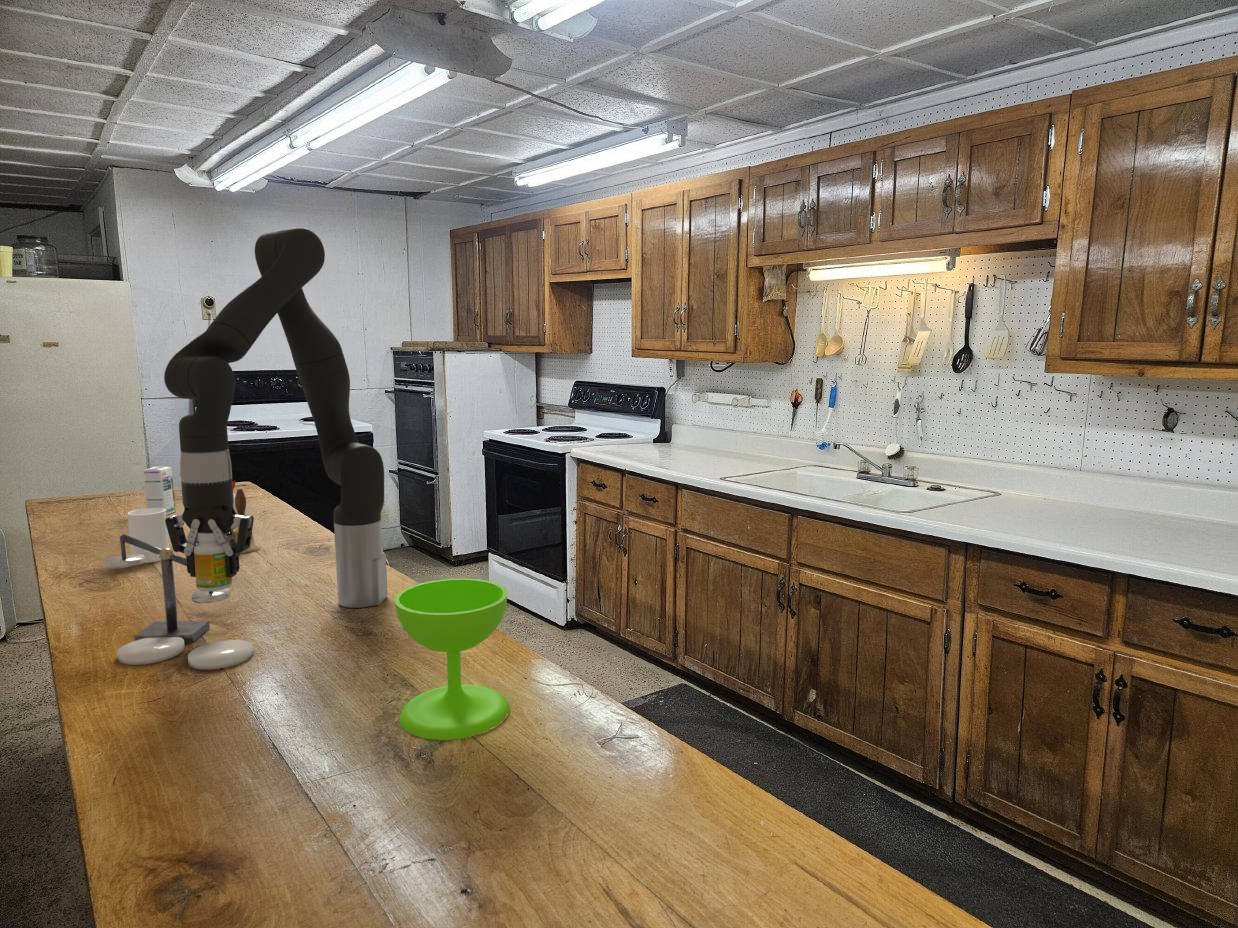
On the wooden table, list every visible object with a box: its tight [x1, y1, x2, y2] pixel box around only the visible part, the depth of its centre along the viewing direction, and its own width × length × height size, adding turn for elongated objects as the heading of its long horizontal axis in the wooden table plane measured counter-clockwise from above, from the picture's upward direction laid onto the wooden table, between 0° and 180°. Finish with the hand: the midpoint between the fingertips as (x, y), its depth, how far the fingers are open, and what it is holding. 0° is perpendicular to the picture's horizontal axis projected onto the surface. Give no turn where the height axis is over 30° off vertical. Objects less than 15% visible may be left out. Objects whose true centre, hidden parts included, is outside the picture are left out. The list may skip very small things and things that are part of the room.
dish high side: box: [117, 636, 186, 666], centre depth 136 cm, size 10×10×1 cm
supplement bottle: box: [194, 533, 233, 591], centre depth 131 cm, size 5×5×10 cm
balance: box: [102, 533, 232, 644], centre depth 142 cm, size 21×7×19 cm, turn 95°
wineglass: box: [393, 577, 511, 741], centre depth 113 cm, size 16×16×18 cm
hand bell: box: [233, 488, 262, 555], centre depth 200 cm, size 8×8×16 cm
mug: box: [127, 507, 170, 564], centre depth 194 cm, size 12×8×12 cm
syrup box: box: [142, 465, 177, 516], centre depth 240 cm, size 6×6×14 cm
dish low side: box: [187, 639, 254, 671], centre depth 134 cm, size 10×10×1 cm
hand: (213, 575), depth 132 cm, fingers closed on supplement bottle, 5 cm apart
